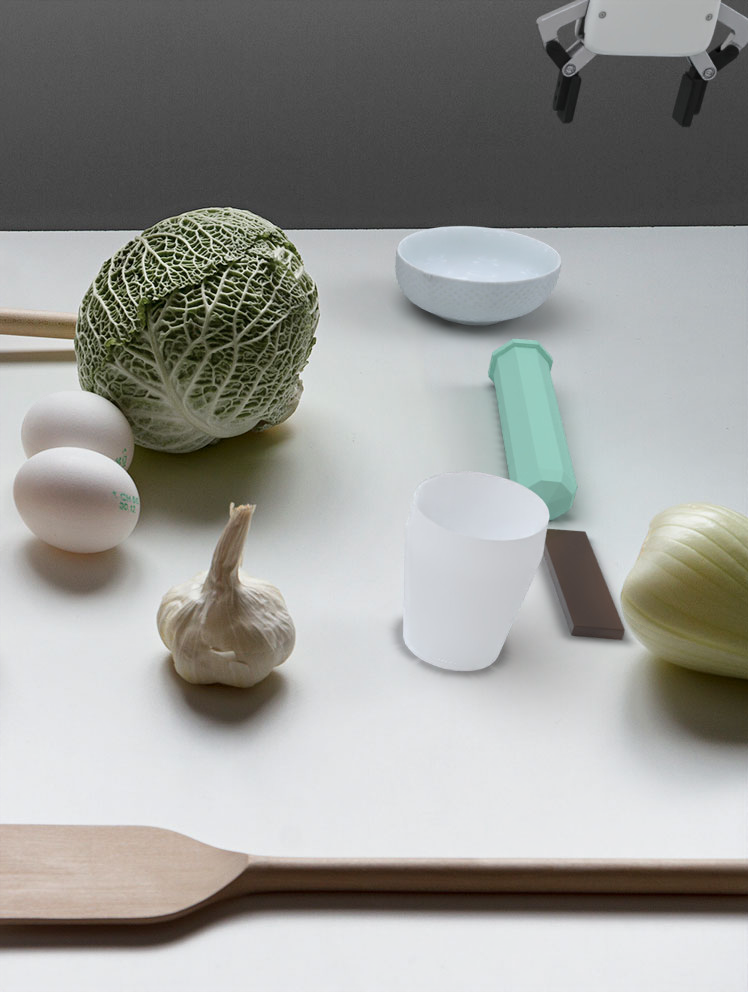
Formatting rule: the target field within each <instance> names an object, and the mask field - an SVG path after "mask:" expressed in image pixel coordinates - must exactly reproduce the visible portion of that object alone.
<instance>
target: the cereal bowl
mask: <svg viewBox="0 0 748 992" xmlns="http://www.w3.org/2000/svg"><path fill="white" fill-rule="evenodd" d="M394 259H395V260H394V269H395V278H396V282H397V284H398V286H399V289H400V290H401V292H402V293H403V294H404V297H405V298H407V299H408V300H409V301H410V302H411V303H412V304H414V305H416V306H417V307H418V308H420V309H422V310H424V311H426V312H429V313H430V314H432V315H435V316H437V317H439V318H441V319H442V320H444V321H445V320H446V321H448V322H451V323H455V324H460V325H466V326H490V325H491V326H492V325H496V324H498V323H501V322H503V321H509V320H512V319H513V320H514V319H516V318H520V317H522V316H525V315H527V314H530V313H531V312H534V311H535V310H536V309H538V308H539V307H540V306H542V305H543V304H545V302H546V301H547V300H548V299H549V297H550V296H551V295H552V294H553V292H554V290H555V287H556V286H557V284H558V280H559V276H560V273H561V268H562V256H561V254H559V252H558V251H557V250H556V249H555V248H553V247H552V246H550V245H549V244H547V243H545V242H543V241H541V240H539V239H537V238H534V237H532V236H528V235H525V234H522V233H518V232H515V231H509V230H505V229H499V228H494V227H493V228H492V227H485V226H468V225H457V226H456V225H455V226H454V225H453V226H440V227H434V228H433V227H432V228H427V229H422V230H419V231H416V232H413V233H412V234H409V235H407V236H405V237H404V238H403V239H401V241H399V243H398V245H397V247H396V250H395V258H394Z"/></svg>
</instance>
